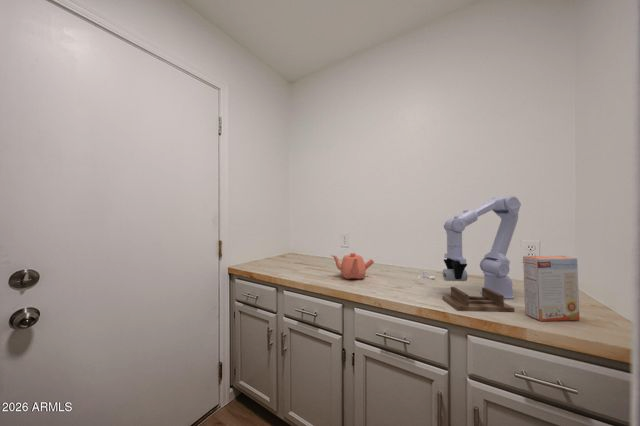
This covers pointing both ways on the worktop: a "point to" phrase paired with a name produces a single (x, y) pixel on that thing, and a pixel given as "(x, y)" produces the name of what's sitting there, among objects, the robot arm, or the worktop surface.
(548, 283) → the cracker box
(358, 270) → the teapot
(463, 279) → the roll
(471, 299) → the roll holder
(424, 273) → the teacup and saucer
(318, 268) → the worktop surface
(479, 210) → the robot arm
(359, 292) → the worktop surface
